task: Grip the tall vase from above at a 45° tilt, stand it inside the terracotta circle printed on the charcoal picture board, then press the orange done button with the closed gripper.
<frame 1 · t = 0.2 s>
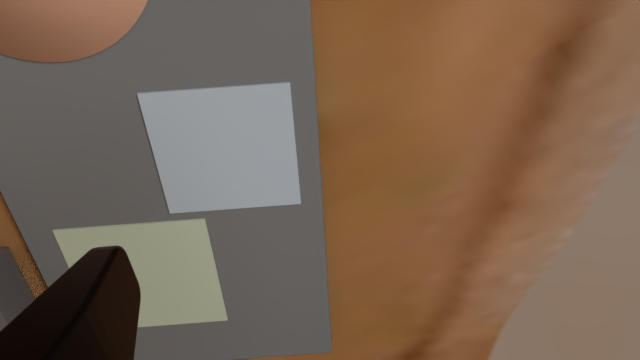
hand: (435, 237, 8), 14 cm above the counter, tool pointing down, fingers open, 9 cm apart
picture board: (158, 147, 23), on the counter
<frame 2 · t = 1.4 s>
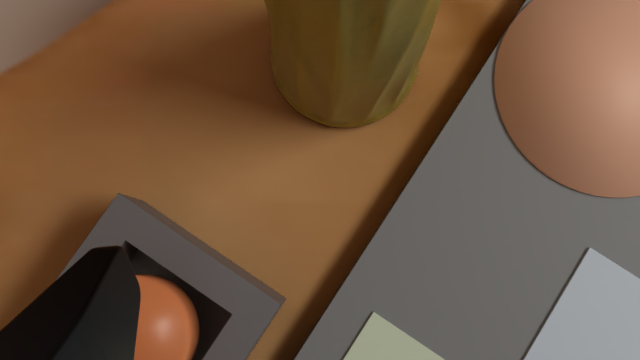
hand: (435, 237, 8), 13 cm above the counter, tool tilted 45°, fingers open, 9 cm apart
vase: (344, 59, 22), on the counter
picture board: (540, 312, 21), on the counter
button housing: (161, 324, 21), on the counter
done button: (131, 336, 18), point 3 cm above the counter, slide at 0.0 cm
when the fingers open (9 cm above the counter, at t = 8.5 s): vase stays where it is, resting on picture board.
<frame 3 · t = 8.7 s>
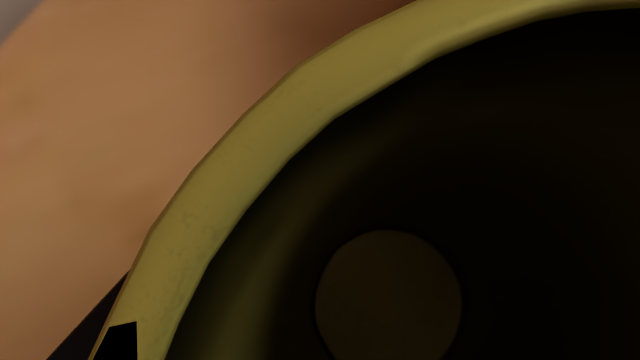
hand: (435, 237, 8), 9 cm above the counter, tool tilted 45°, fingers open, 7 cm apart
vase: (385, 301, 16), point 1 cm above the counter, touching picture board
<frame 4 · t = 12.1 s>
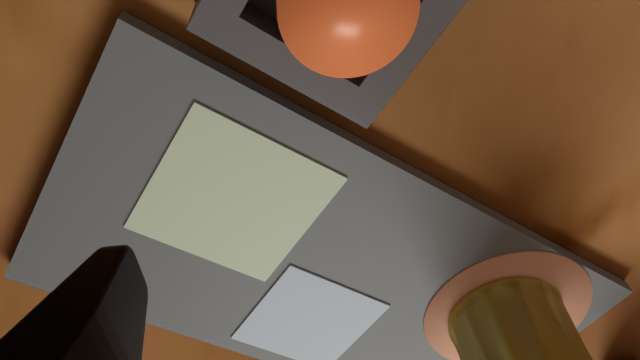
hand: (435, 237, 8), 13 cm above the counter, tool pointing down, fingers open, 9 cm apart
vase: (502, 311, 28), point 1 cm above the counter, touching picture board
picture board: (340, 273, 27), on the counter
done button: (344, 0, 16), point 3 cm above the counter, slide at 0.0 cm
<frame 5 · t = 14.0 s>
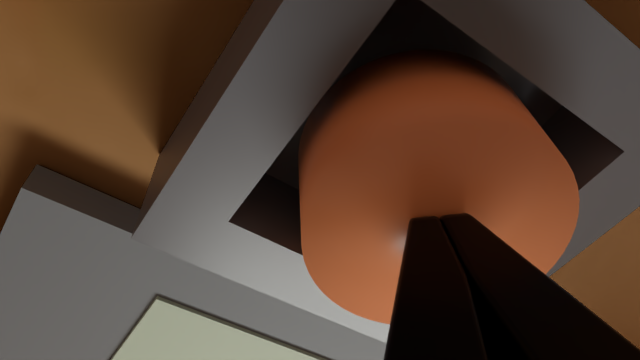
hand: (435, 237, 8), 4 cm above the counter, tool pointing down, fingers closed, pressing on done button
button housing: (395, 112, 11), on the counter
done button: (423, 193, 9), point 3 cm above the counter, slide at 0.6 cm, touching gripper
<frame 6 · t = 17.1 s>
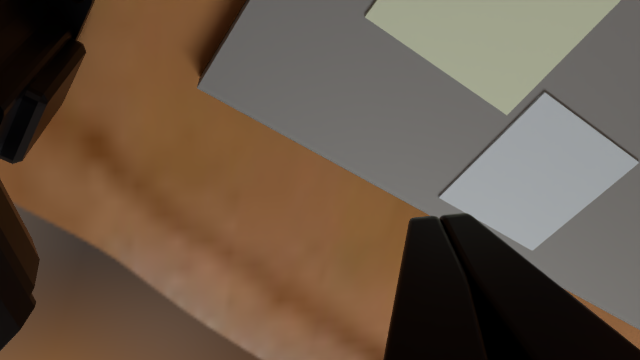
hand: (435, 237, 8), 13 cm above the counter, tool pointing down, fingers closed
picture board: (584, 118, 22), on the counter
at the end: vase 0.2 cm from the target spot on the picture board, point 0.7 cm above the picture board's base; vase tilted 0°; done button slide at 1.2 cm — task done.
